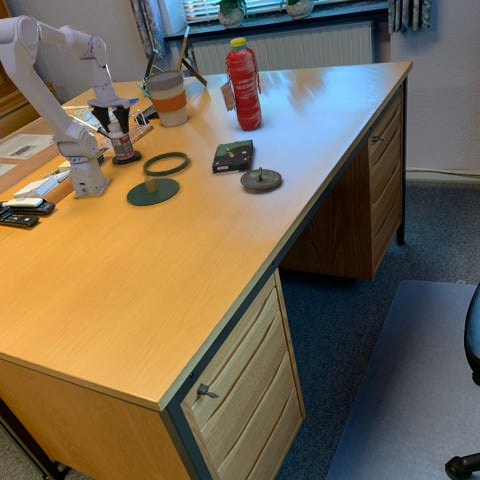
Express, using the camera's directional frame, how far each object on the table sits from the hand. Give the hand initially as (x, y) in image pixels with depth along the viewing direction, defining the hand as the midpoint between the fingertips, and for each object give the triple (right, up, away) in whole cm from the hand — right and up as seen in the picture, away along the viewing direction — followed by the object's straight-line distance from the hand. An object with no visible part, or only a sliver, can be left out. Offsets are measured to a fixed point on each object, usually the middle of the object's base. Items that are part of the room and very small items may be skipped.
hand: (118, 132), depth 144 cm
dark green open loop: (+15, -12, -4) cm, 20 cm away
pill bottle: (+1, -6, +5) cm, 8 cm away
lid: (+42, -22, -22) cm, 52 cm away
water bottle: (+38, +5, +9) cm, 40 cm away
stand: (+1, -6, +6) cm, 9 cm away
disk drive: (+35, -12, -8) cm, 37 cm away
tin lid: (+13, -22, -16) cm, 30 cm away
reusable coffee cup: (+13, +13, +25) cm, 32 cm away
